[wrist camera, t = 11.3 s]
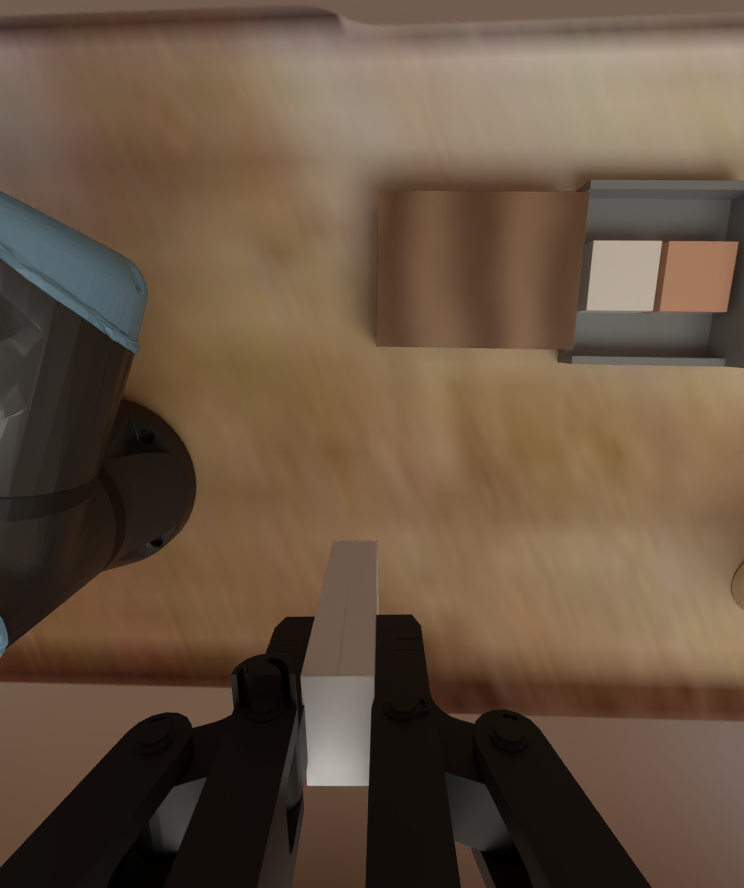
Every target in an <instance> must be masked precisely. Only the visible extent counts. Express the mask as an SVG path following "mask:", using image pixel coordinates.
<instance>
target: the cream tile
mask: <svg viewBox="0 0 744 888" xmlns="http://www.w3.org/2000/svg"><path fill="white" fill-rule="evenodd" d="M661 247H662V241H592V242H590V243H588V244H586V245H585V246H584V255H583V265H582V274H581V283H580V293H579V302H578V312H586V313H640V312H648V311H653V306H654V299H655V291H656V284H657V276H658V269H659V261H660V254H661Z"/></svg>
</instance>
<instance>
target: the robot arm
mask: <svg viewBox="0 0 744 888" xmlns="http://www.w3.org/2000/svg"><path fill="white" fill-rule="evenodd" d="M147 295H148V294H147V286H146V282H145V279H144V277H143V275H142V273H141V272H140V270H139V269H138V268H137V266H136V265H135V264H134V263H133V262H131V261H130V260H129V259H128V258H126V257H124V256H123V255H121V254H119V253H117V252H115V251H114V250H112V249H110V248H108V247H106V246H104V245H102V244H101V243H99V242H97V241H95V240H93V239H91V238H89V237H87V236H85V235H84V234H82V233H80V232H78V231H76V230H74V229H72V228H70V227H68V226H66V225H65V224H63V223H61V222H59V221H57V220H55V219H53V218H51V217H49V216H47V215H46V214H44V213H42V212H40V211H38V210H36V209H34V208H32V207H30V206H28V205H26V204H24V203H22V202H20V201H19V200H17V199H15V198H13V197H11V196H9V195H7V194H5V193H3V192H1V191H0V657H1V656H2V654H3V653H4V652H5V650H6V649H7V648H8V647H9V646H11V645H12V644H13V643H14V642H15V641H17V640H18V639H19V638H20V637H22V636H23V635H24V634H25V633H27V632H28V631H29V630H30V629H32V628H33V627H34V626H35V625H36V624H38V623H39V622H40V621H41V620H43V619H44V618H45V617H46V616H48V615H49V614H50V613H51V612H53V611H54V610H55V609H56V608H57V607H59V606H60V605H61V604H62V603H64V602H65V601H66V600H67V599H69V598H70V597H71V596H72V595H74V594H75V593H76V592H77V591H78V590H80V589H81V588H82V587H83V586H85V585H86V584H87V583H88V582H90V581H91V580H92V579H93V578H95V577H96V576H97V575H98V574H99V573H100V572H102V571H106V570H109V569H113V568H117V567H120V566H124V565H128V564H131V563H135V562H138V561H141V560H143V559H145V558H147V557H149V556H151V555H153V554H155V553H156V552H158V551H159V550H161V549H162V548H163V547H164V546H165V545H166V544H168V543H169V542H170V541H171V540H172V539H173V538H174V537H175V536H176V535H177V534H178V533H179V532H180V531H181V530H182V528H183V527H184V525H185V524H186V522H187V521H188V519H189V516H190V514H191V512H192V509H193V505H194V501H195V494H196V480H195V473H194V468H193V465H192V462H191V459H190V456H189V454H188V452H187V450H186V448H185V446H184V444H183V443H182V441H181V440H180V438H179V437H178V435H177V434H176V433H175V432H174V431H173V429H172V428H171V427H170V426H169V425H168V424H167V423H166V422H164V421H163V420H162V419H161V418H160V417H158V416H157V415H155V414H154V413H152V412H151V411H149V410H147V409H145V408H143V407H141V406H139V405H136V404H134V403H131V402H127V401H123V400H121V398H122V395H123V391H124V388H125V385H126V381H127V378H128V375H129V371H130V368H131V365H132V362H133V358H134V355H135V353H136V354H138V352H139V344H138V342H137V341H138V336H139V331H140V327H141V323H142V318H143V314H144V310H145V306H146V301H147ZM378 614H379V612H378V564H377V541H333V544H332V548H331V552H330V556H329V560H328V565H327V569H326V573H325V577H324V581H323V585H322V590H321V594H320V598H319V602H318V606H317V610H316V614H315V617H286V618H285V619H284V620H283V621H282V622H281V623H280V624H279V625H278V626H276V627H275V629H274V632H273V634H272V637H271V640H270V644H269V645H268V648H267V651H266V654H261V655H257V656H254V657H251V658H249V659H246V660H245V661H243V662H242V663H241V664H239V665H238V666H237V667H236V668H235V669H234V671H233V672H232V673H231V685H232V694H233V703H234V710H233V713H232V715H230V716H228V717H226V718H224V719H222V720H219V721H217V722H214V723H210V724H206V725H203V726H198V727H195V728H192V725H191V723H190V721H189V720H188V718H187V717H186V716H183V715H181V714H179V713H167V712H166V713H162V714H157V715H153V716H151V717H149V718H147V719H145V720H143V721H141V722H139V723H138V724H137V725H135V726H134V727H133V728H132V729H130V730H129V731H128V732H127V733H126V734H125V735H124V736H123V737H122V738H121V739H120V740H119V742H118V743H117V744H116V745H115V746H114V747H113V748H112V749H111V750H110V751H109V752H108V753H107V754H106V755H105V757H104V758H103V759H102V760H101V761H100V762H99V763H98V764H97V765H96V766H95V767H94V768H93V769H92V770H91V771H90V772H89V774H88V775H87V776H86V777H85V778H84V779H83V780H82V781H81V782H80V783H79V784H78V785H77V786H76V787H75V789H73V791H72V792H71V793H70V794H69V795H68V796H67V797H66V798H65V799H64V800H63V801H62V802H61V803H60V804H59V806H58V807H57V808H56V809H55V810H54V811H53V812H52V813H51V814H50V815H49V816H48V817H47V818H46V819H45V820H44V821H43V823H42V824H41V825H40V826H39V827H38V828H37V829H36V830H35V831H34V832H33V833H32V834H31V835H30V836H29V838H28V839H27V840H26V841H25V842H24V843H23V844H22V845H21V846H20V847H19V848H18V849H17V850H16V851H15V852H14V853H13V855H12V856H11V857H10V858H9V859H8V860H7V861H6V862H5V863H4V864H3V865H2V866H1V867H0V888H292V882H293V875H294V870H295V864H296V858H297V851H298V845H299V839H300V833H301V827H302V821H303V814H304V800H303V787H304V781H305V775H306V770H307V785H308V786H369V794H368V826H367V856H366V857H367V858H366V888H461V885H460V878H459V872H458V864H457V857H456V850H455V843H454V841H456V842H459V843H462V844H465V845H468V846H470V847H471V848H472V853H473V856H474V858H475V861H476V863H477V866H478V868H479V871H480V873H481V875H482V878H483V880H484V883H485V885H486V888H651V886H650V885H649V883H648V882H647V881H646V879H645V878H644V876H643V875H642V873H641V872H640V871H639V869H638V868H637V866H636V865H635V864H634V862H633V861H632V859H631V858H630V856H629V855H628V854H627V852H626V851H625V849H624V848H623V847H622V845H621V844H620V842H619V841H618V840H617V838H616V837H615V835H614V834H613V832H612V831H611V829H610V828H609V827H608V825H607V824H606V823H605V821H604V820H603V818H602V817H601V815H600V814H599V812H598V811H597V810H596V808H595V807H594V806H593V804H592V803H591V801H590V800H589V798H588V797H587V795H586V794H585V793H584V791H583V790H582V788H581V787H580V786H579V784H578V783H577V781H576V780H575V779H574V777H573V776H572V774H571V773H570V771H569V770H568V769H567V767H566V766H565V765H564V763H563V761H562V760H561V759H560V758H559V756H558V754H557V753H556V752H555V750H554V749H553V747H552V746H551V744H550V743H549V742H548V740H547V739H546V737H545V736H544V735H543V733H542V732H541V730H540V729H539V728H538V727H537V726H536V725H535V724H534V723H533V722H532V721H531V720H530V719H528V718H526V717H525V716H523V715H521V714H519V713H516V712H512V711H509V710H492V711H489V712H487V713H484V714H482V715H481V716H480V717H479V718H478V719H477V721H476V722H475V724H473V723H469V722H466V721H461V720H459V719H456V718H453V717H451V716H449V715H448V714H446V713H444V712H443V711H442V710H441V709H440V708H439V707H438V706H436V704H435V703H434V701H433V699H432V697H431V694H430V689H429V682H428V675H427V667H426V660H425V653H424V645H423V638H422V631H421V625H420V624H419V623H418V622H417V620H416V619H415V618H414V617H413V615H378Z"/></svg>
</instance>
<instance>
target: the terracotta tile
mask: <svg viewBox="0 0 744 888" xmlns="http://www.w3.org/2000/svg"><path fill="white" fill-rule="evenodd" d="M738 243H739V242H725V241H668V242H666V243H663V244H662V247H661V254H660V261H659V269H658V276H657V284H656V291H655V299H654V306H653V311H648V312H642V313H667V314H710V313H722V312H727V308H728V302H729V296H730V290H731V284H732V278H733V272H734V267H735V261H736V255H737V249H738Z"/></svg>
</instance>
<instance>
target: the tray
mask: <svg viewBox="0 0 744 888" xmlns="http://www.w3.org/2000/svg"><path fill="white" fill-rule="evenodd" d="M577 192H590V194H589V203H588V213H587V222H586V231H585V241H584V246H585V245H586V244H588V243H590V242H592V241H662V244H663V243H666V242H668V241H725V242H739V243H738V249H737V255H736V261H735V267H734V272H733V278H732V284H731V290H730V296H729V302H728V308H727V312H722V313H710V314H667V313H642V312H640V313H586V312H578V307H577V316H576V326H575V335H574V344H573V350H565V349H559V358H558V362H561V363H569V364H612V365H669V366H725V367H739V368H744V181H718V180H590V181H589V182H588V183H586V184H585V185H584V186H583V187H582V188H580V189H579V190H578V191H577ZM583 255H584V250H583ZM582 265H583V260H582ZM581 274H582V269H581ZM580 283H581V279H580ZM579 293H580V288H579ZM578 302H579V297H578Z"/></svg>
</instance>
